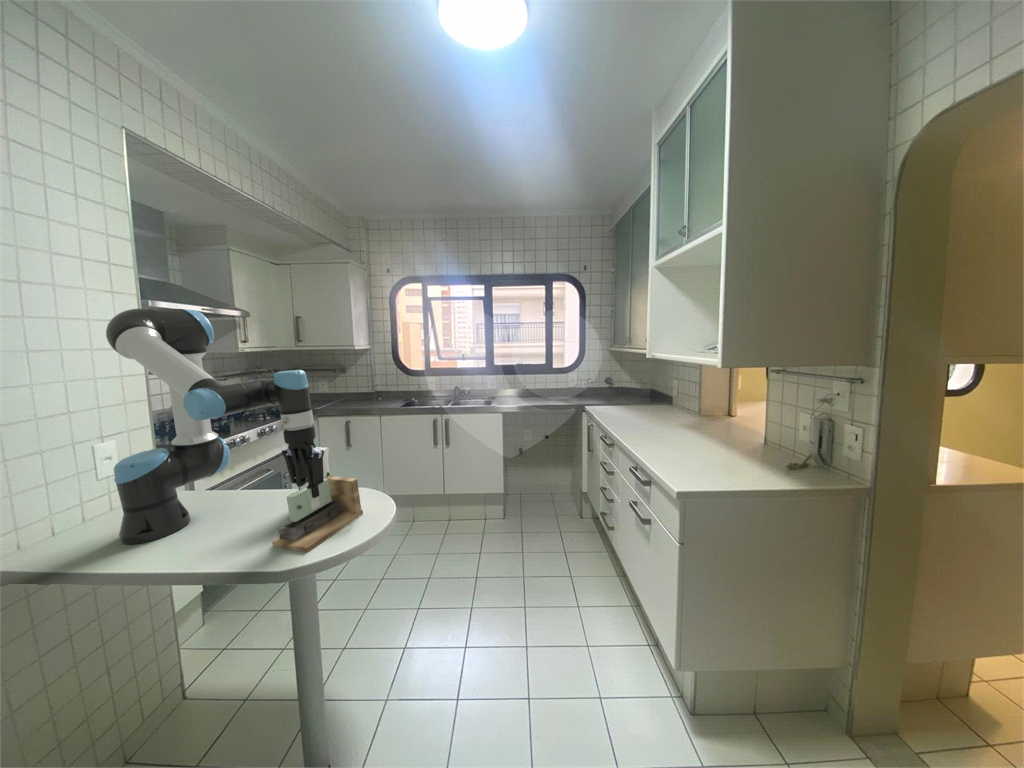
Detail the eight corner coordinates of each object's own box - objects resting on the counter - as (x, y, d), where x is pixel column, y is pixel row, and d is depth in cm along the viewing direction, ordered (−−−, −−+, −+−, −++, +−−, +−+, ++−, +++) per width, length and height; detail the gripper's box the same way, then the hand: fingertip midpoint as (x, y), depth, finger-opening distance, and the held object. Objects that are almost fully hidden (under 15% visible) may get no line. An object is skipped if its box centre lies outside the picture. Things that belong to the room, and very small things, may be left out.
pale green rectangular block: (290, 520, 100) (286, 496, 99) (326, 500, 111) (323, 478, 110) (298, 522, 99) (293, 497, 98) (333, 501, 110) (329, 479, 109)
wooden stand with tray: (273, 545, 98) (266, 506, 96) (332, 509, 117) (327, 475, 115) (307, 552, 94) (300, 511, 92) (363, 513, 112) (358, 478, 111)
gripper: (266, 429, 101) (280, 510, 104) (307, 431, 95) (321, 516, 99) (290, 422, 108) (303, 498, 111) (330, 423, 102) (342, 503, 106)
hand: (311, 507), depth 105 cm, fingers closed on pale green rectangular block, 2 cm apart
